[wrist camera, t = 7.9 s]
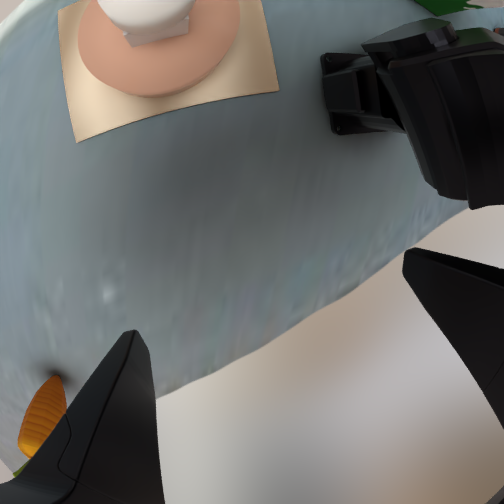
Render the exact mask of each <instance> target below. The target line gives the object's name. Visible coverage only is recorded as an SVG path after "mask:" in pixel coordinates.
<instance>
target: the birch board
mask: <svg viewBox="0 0 504 504" xmlns="http://www.w3.org/2000/svg"><path fill="white" fill-rule="evenodd" d="M90 2H91V0H80V1H78V2H76V3H73V4H71V5H69V6H67V7H65V8H63V9H61V10H59V11H58V27H59V42H60V53H61V62H62V70H63V77H64V84H65V90H66V96H67V102H68V107H69V112H70V117H71V122H72V126H73V131H74V135H75V139H76V143H78V142H81V141H83V140H86V139H88V138H91V137H93V136H96V135H98V134H101V133H103V132H106V131H109V130H112V129H114V128H117V127H120V126H123V125H126V124H129V123H132V122H135V121H138V120H141V119H145V118H148V117H151V116H155V115H158V114H162V113H166V112H169V111H173V110H177V109H181V108H185V107H189V106H193V105H198V104H202V103H207V102H212V101H217V100H222V99H228V98H233V97H239V96H246V95H252V94H259V93H267V92H276V91H279V85H278V80H277V74H276V69H275V64H274V59H273V54H272V49H271V44H270V39H269V34H268V29H267V25H266V20H265V16H264V12H263V7H262V3H261V0H238V2H239V7H240V23H239V28H238V31H237V34H236V37H235V39H234V41H233V43H232V45H231V47H230V48H229V50H228V51H227V53H226V54H225V56H224V57H223V59H222V60H221V62H220V63H219V65H218V66H217V67H216V68H215V70H214V71H213V72H212V73H211V74H210V75H209V76H208V77H206V78H205V79H204V80H203V81H201V82H200V83H198V84H197V85H195V86H193V87H192V88H190V89H188V90H185V91H183V92H181V93H178V94H174V95H171V96H166V97H159V98H143V97H136V96H132V95H129V94H126V93H124V92H121V91H119V90H117V89H115V88H113V87H111V86H108V85H106V84H105V83H103V82H101V81H100V80H98V79H97V78H96V77H95V76H93V75H92V74H91V73H90V71H89V70H88V69H87V68H86V66H85V65H84V63H83V61H82V59H81V56H80V54H79V49H78V29H79V25H80V21H81V18H82V16H83V14H84V11H85V10H86V8H87V6H88V5H89V3H90Z"/></svg>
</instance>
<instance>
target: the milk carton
mask: <svg viewBox="0 0 504 504" xmlns="http://www.w3.org/2000/svg"><path fill="white" fill-rule="evenodd" d="M414 1H416V2H418V3H419V4H421V5H422V6H424V7H425V8H426V9H428V10H429V11H431V12H432V13H434V14H435V15H436V16H441V15H445V14H449V13H454V12H458V11H463V10H469V9H480V8H495V7H504V0H414Z"/></svg>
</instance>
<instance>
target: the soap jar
mask: <svg viewBox="0 0 504 504" xmlns="http://www.w3.org/2000/svg"><path fill="white" fill-rule="evenodd" d="M239 23H240V7H239V2H238V0H195V3H194V6H193V8H192V9H191V11H190V12H189V13H188V15H187V16H186V17H185V18H184V19H183V20H181V21H180V22H179V23H177V24H176V25H174V26H172V27H170V28H168V29H166V30H164V31H161V32H157V33H153V34H146V35H137V34H130V33H127V32H124V31H122V30H120V29H118V28H117V27H116V26H115V25H114V24H113V23H112V22H111V20H110V19H109V17H108V16H107V15H106V13H105V12H104V11H103V9H102V8H101V7H100V5H99V4H98V1H97V0H91V2H90V3H89V5H88V6H87V8H86V10H85V11H84V14H83V16H82V18H81V21H80V25H79V29H78V49H79V54H80V56H81V59H82V61H83V63H84V65H85V66H86V68H87V69H88V70H89V71H90V73H91V74H92V75H93V76H95V77H96V78H97V79H98V80H100V81H101V82H103V83H105V84H106V85H108V86H111V87H113V88H115V89H117V90H119V91H121V92H124V93H126V94H129V95H132V96H136V97H143V98H159V97H166V96H171V95H174V94H178V93H181V92H183V91H185V90H188V89H190V88H192V87H193V86H195V85H197V84H198V83H200V82H201V81H203V80H204V79H205V78H206V77H208V76H209V75H210V74H211V73H212V72H213V71H214V70H215V68H216V67H217V66H218V65H219V63H220V62H221V60H222V59H223V57H224V56H225V54H226V53H227V51H228V50H229V48H230V47H231V45H232V43H233V41H234V39H235V37H236V34H237V31H238V28H239Z"/></svg>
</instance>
